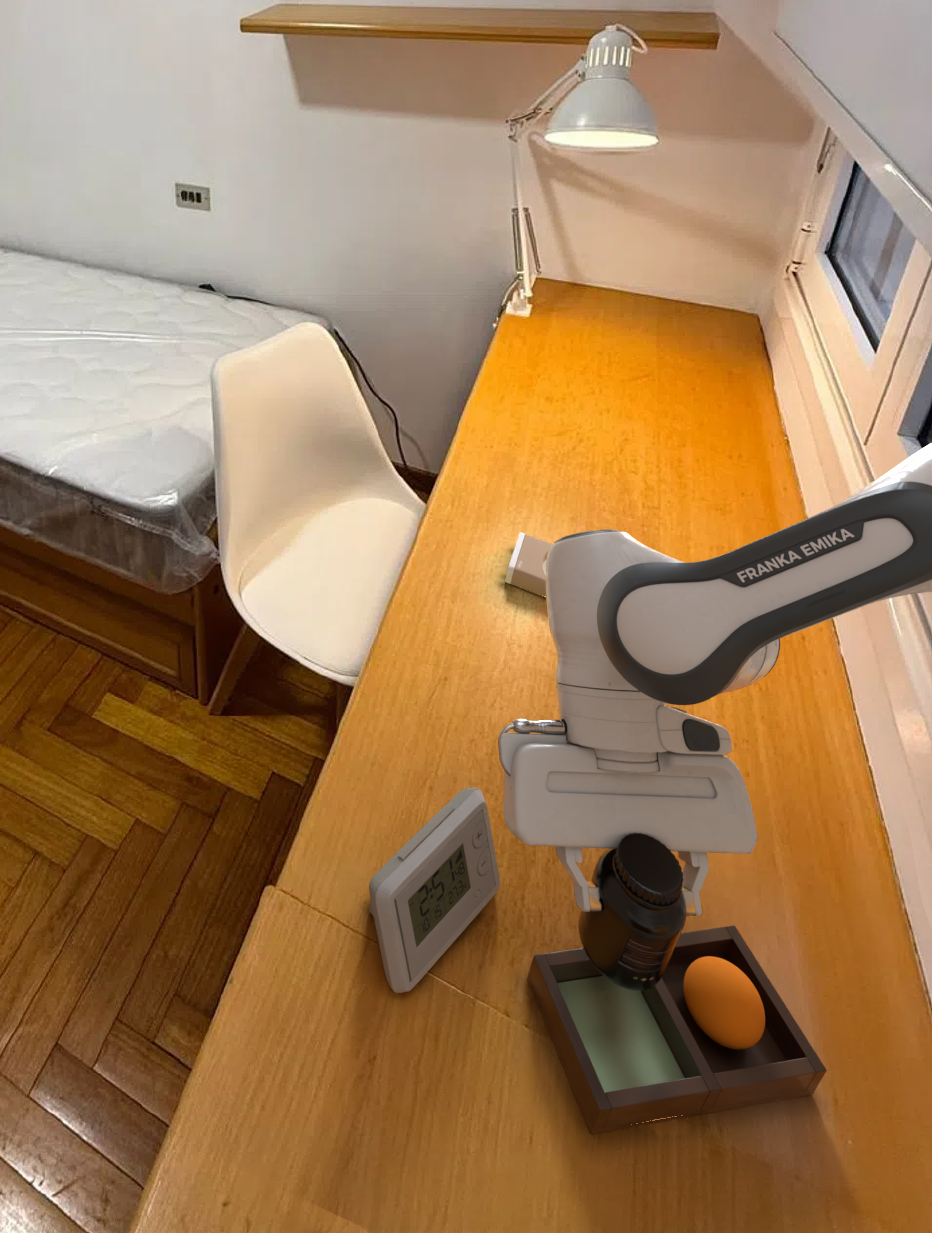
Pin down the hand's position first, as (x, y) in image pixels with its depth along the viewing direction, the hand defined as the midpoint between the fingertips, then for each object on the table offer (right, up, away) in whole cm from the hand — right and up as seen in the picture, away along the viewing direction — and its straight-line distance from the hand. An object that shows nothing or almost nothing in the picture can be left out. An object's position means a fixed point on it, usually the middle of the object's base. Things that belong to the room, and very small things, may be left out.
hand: (639, 911), depth 68 cm
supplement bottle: (0, -6, +3) cm, 7 cm away
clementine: (+9, -10, +3) cm, 14 cm away
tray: (+4, -14, +4) cm, 15 cm away
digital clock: (-14, -11, +12) cm, 21 cm away
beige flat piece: (+19, +6, +51) cm, 55 cm away
